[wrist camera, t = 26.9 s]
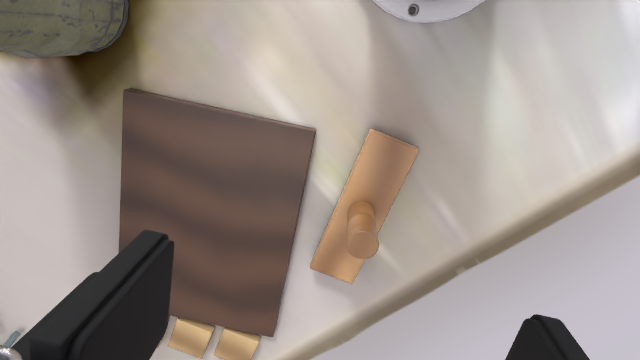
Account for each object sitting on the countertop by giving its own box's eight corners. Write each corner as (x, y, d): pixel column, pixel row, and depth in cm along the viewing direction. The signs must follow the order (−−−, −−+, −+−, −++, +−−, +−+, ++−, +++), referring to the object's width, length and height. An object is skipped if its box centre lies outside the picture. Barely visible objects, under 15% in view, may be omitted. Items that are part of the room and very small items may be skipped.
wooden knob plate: (311, 256, 40) (302, 307, 33) (369, 124, 35) (374, 149, 28) (352, 271, 40) (352, 326, 33) (415, 143, 35) (432, 173, 28)
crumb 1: (180, 313, 44) (176, 319, 43) (215, 326, 44) (212, 332, 43) (171, 339, 45) (167, 346, 44) (204, 352, 45) (201, 359, 45)
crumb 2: (226, 322, 44) (224, 329, 43) (260, 335, 44) (258, 342, 43) (215, 348, 45) (213, 355, 44) (248, 361, 45) (246, 368, 45)
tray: (129, 88, 36) (123, 89, 35) (316, 129, 36) (315, 131, 35) (122, 298, 44) (117, 304, 43) (274, 331, 44) (272, 337, 43)
